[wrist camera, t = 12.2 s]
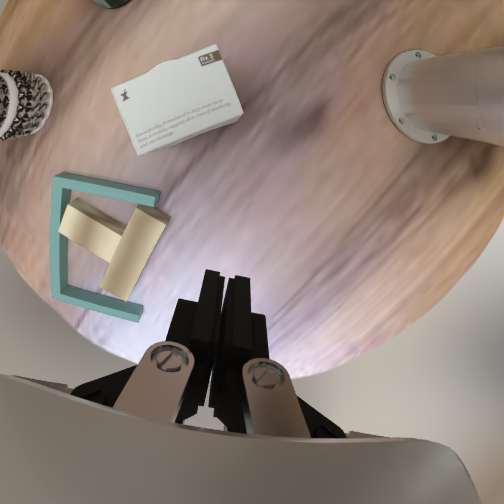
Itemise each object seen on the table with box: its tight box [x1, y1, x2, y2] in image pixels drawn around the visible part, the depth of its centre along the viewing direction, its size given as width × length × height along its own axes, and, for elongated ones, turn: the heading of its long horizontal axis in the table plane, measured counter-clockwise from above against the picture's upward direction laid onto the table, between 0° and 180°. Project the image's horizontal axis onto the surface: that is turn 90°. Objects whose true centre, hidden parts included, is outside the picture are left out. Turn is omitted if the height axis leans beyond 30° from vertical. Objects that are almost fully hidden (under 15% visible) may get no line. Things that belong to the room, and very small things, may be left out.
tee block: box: [58, 198, 171, 302], centre depth 36 cm, size 12×12×3 cm
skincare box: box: [111, 44, 244, 156], centre depth 26 cm, size 8×6×15 cm
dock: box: [50, 172, 160, 322], centre depth 37 cm, size 14×17×2 cm
